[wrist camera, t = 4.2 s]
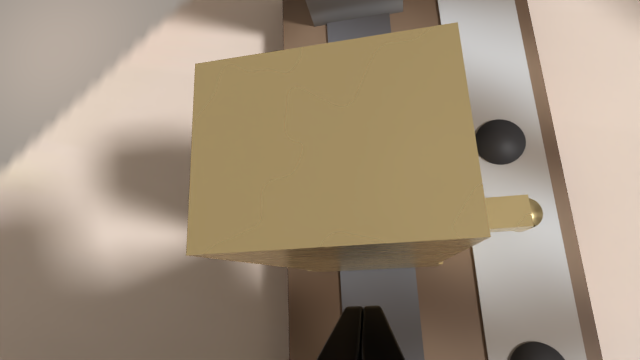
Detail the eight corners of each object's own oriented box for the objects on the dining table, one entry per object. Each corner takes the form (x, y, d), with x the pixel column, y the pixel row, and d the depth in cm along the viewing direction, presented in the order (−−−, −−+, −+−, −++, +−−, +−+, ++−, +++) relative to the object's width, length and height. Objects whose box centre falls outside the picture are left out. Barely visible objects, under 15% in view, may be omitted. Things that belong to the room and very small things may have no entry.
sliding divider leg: (536, 261, 14) (848, 214, 4) (318, 272, 15) (173, 256, 5) (521, 178, 14) (753, -25, 5) (316, 195, 16) (183, 65, 6)
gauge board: (595, 417, 13) (1409, 994, 3) (301, 412, 15) (55, 727, 5) (503, -45, 19) (645, -509, 8) (290, -6, 20) (162, -331, 10)
